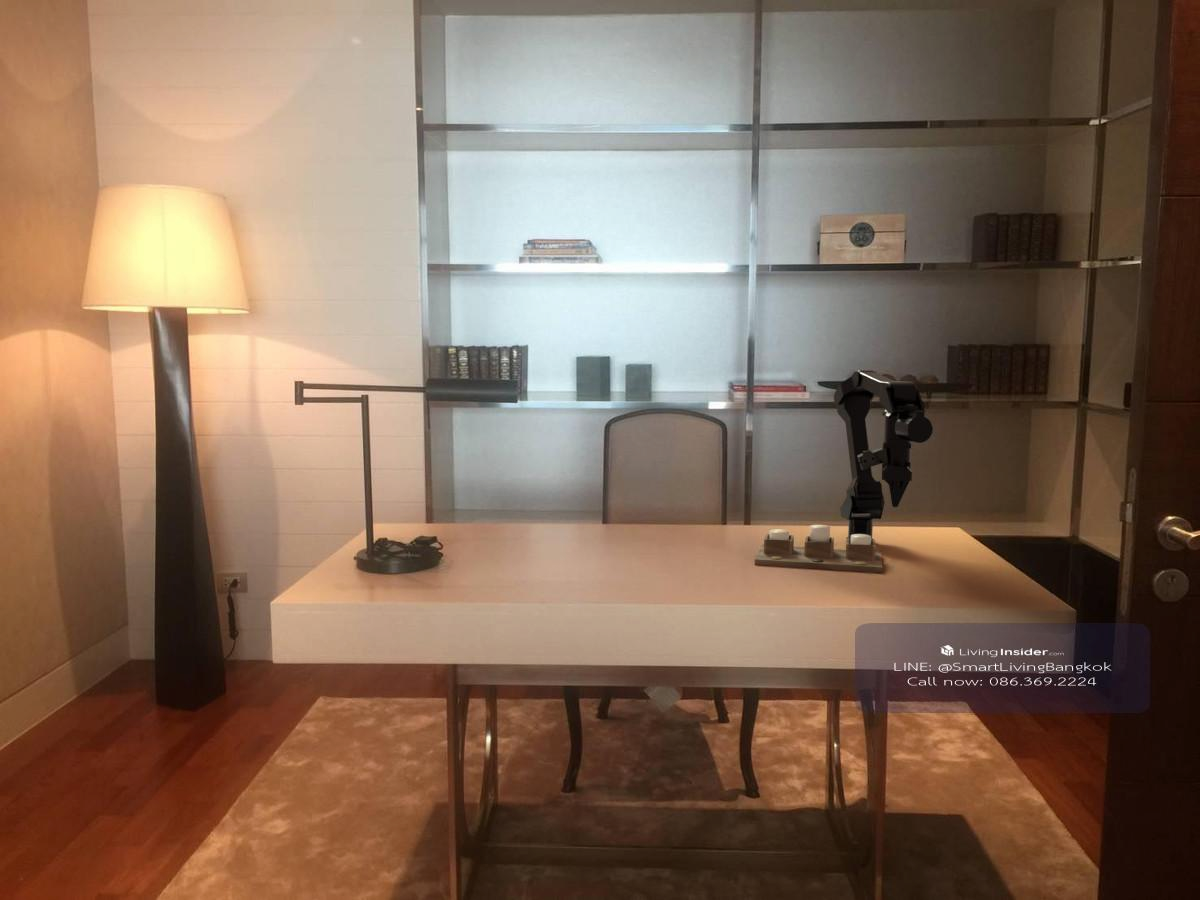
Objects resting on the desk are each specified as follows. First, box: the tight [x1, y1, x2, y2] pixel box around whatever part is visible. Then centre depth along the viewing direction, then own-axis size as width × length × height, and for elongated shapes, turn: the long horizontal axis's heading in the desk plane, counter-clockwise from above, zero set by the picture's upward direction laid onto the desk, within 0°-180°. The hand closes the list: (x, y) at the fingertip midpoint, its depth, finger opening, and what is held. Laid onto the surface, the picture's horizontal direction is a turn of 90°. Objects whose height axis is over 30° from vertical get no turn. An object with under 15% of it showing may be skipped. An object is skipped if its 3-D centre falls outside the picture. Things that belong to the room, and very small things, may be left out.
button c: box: [768, 528, 790, 540], centre depth 215 cm, size 4×4×4 cm
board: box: [754, 533, 883, 574], centre depth 212 cm, size 15×27×4 cm, turn 75°
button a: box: [851, 534, 871, 545], centre depth 210 cm, size 4×4×4 cm
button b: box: [809, 524, 831, 543], centre depth 213 cm, size 4×4×4 cm
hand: (894, 506), depth 212 cm, fingers closed
